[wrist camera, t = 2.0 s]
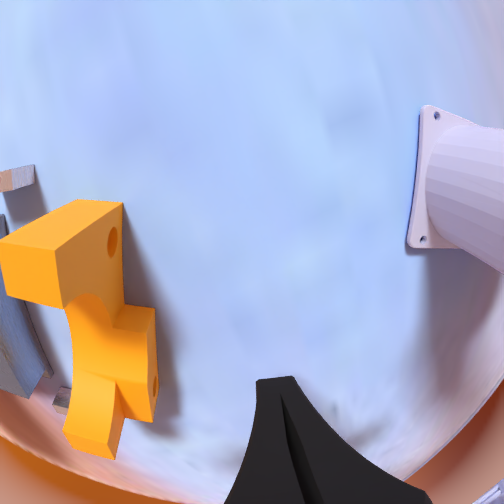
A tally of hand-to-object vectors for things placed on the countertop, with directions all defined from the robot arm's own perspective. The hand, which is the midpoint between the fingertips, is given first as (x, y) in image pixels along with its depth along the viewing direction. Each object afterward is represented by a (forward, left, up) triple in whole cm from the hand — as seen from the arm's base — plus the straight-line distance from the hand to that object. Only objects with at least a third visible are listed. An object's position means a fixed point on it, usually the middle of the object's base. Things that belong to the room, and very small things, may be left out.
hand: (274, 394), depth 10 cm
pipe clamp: (+8, 0, -6) cm, 10 cm away
